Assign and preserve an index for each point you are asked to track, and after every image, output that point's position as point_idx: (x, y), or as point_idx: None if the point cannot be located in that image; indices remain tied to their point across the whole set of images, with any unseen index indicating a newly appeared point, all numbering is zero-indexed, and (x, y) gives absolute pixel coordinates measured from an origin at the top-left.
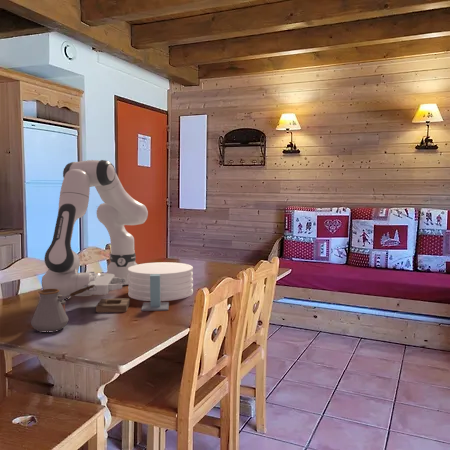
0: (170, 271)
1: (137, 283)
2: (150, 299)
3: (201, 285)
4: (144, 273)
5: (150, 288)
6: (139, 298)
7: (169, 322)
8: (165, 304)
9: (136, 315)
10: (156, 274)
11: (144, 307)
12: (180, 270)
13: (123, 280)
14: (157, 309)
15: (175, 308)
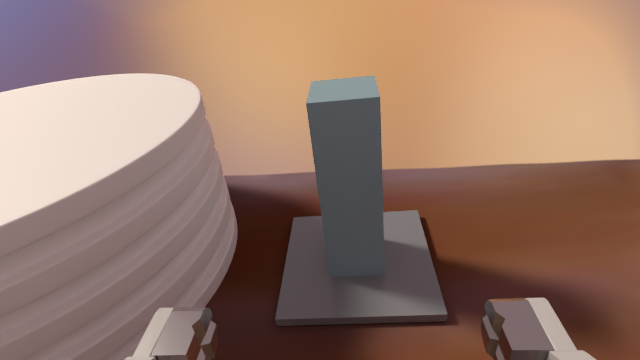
0: (148, 100)
1: (58, 298)
2: (383, 240)
3: None
4: (114, 172)
5: (381, 180)
6: None
7: (615, 198)
8: None
9: None
10: (323, 87)
11: (398, 302)
12: (149, 85)
13: (207, 329)
14: (426, 245)
15: None
